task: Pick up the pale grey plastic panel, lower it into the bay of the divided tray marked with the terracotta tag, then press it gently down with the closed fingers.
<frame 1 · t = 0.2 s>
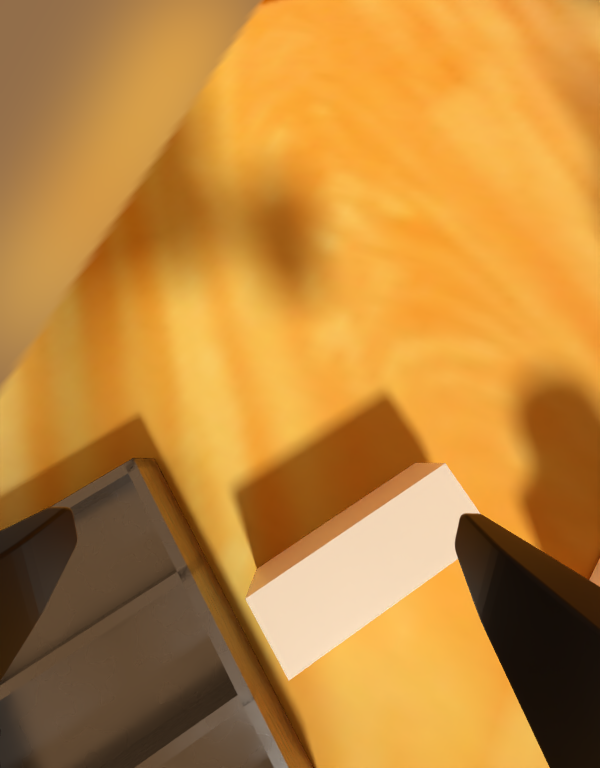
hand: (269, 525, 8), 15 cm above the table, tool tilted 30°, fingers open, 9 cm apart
blanking panel: (355, 542, 22), on the table
divided tray: (114, 683, 20), on the table
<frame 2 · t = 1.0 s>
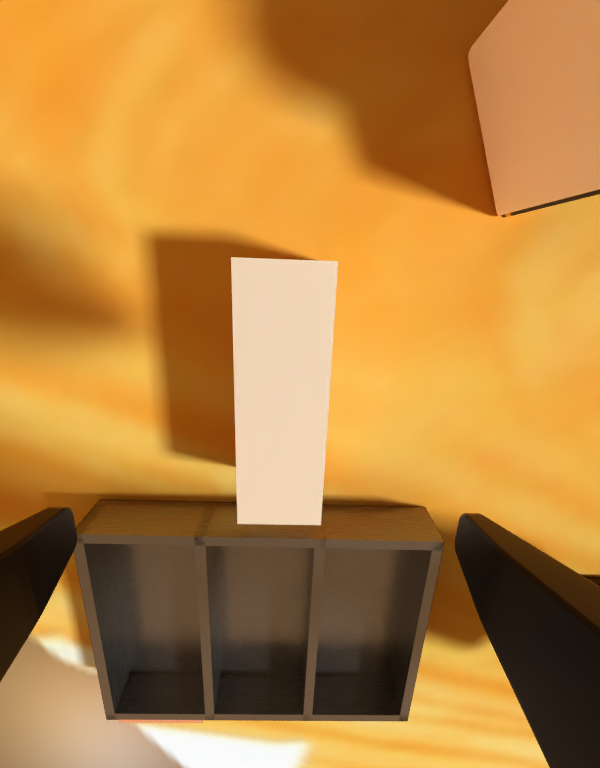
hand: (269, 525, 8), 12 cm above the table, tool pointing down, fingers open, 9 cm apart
blanking panel: (284, 374, 20), on the table
medicine bottle: (554, 111, 16), on the table
divided tray: (263, 595, 24), on the table
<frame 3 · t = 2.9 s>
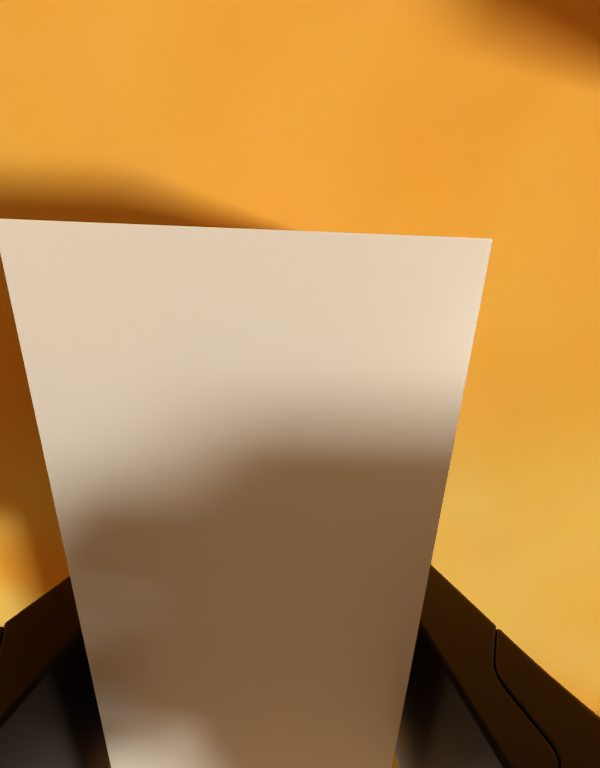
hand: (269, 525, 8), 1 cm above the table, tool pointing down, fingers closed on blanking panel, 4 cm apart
blanking panel: (272, 491, 9), on the table, touching gripper
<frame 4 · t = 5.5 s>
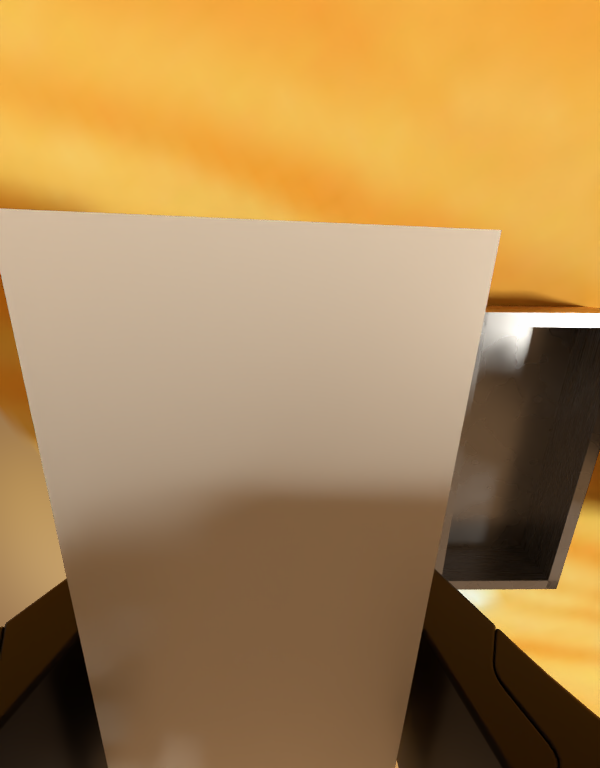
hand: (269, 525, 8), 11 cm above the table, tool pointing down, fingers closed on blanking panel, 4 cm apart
blanking panel: (272, 491, 9), point 10 cm above the table, touching gripper
divided tray: (373, 441, 20), on the table
when the fingers open (3 cm above the table, at t = 7.9 s): blanking panel drops 2 cm, resting on divided tray.
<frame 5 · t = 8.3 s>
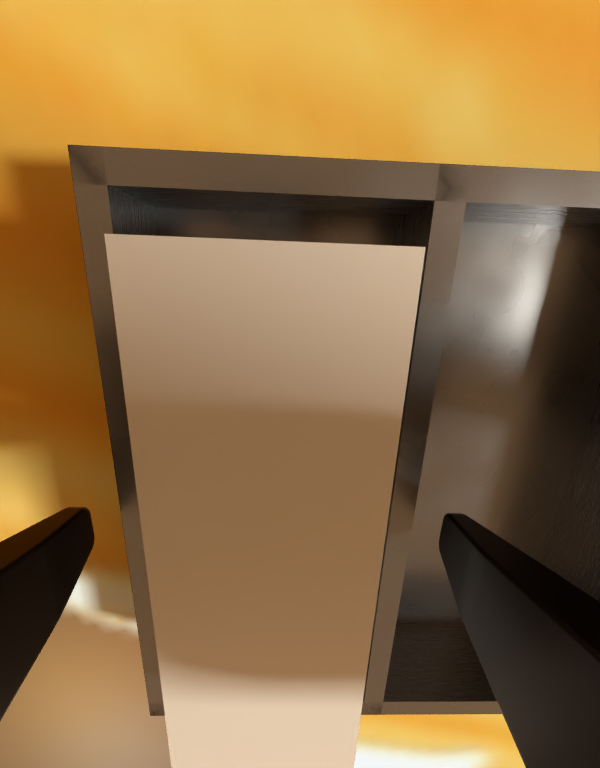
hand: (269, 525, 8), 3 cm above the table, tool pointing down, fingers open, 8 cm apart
blanking panel: (276, 458, 11), resting on divided tray
divided tray: (473, 455, 12), on the table
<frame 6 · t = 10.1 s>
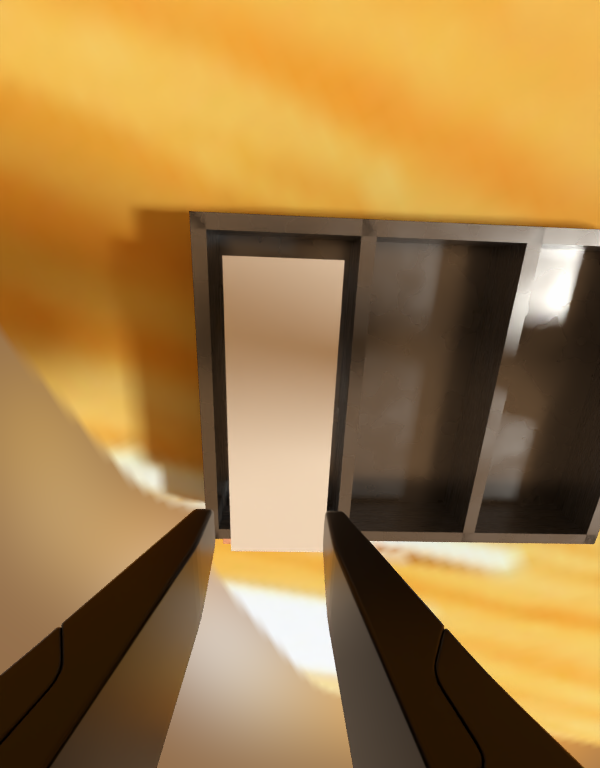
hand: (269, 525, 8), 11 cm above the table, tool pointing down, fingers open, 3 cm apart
blanking panel: (283, 384, 18), resting on divided tray
divided tray: (405, 385, 19), on the table
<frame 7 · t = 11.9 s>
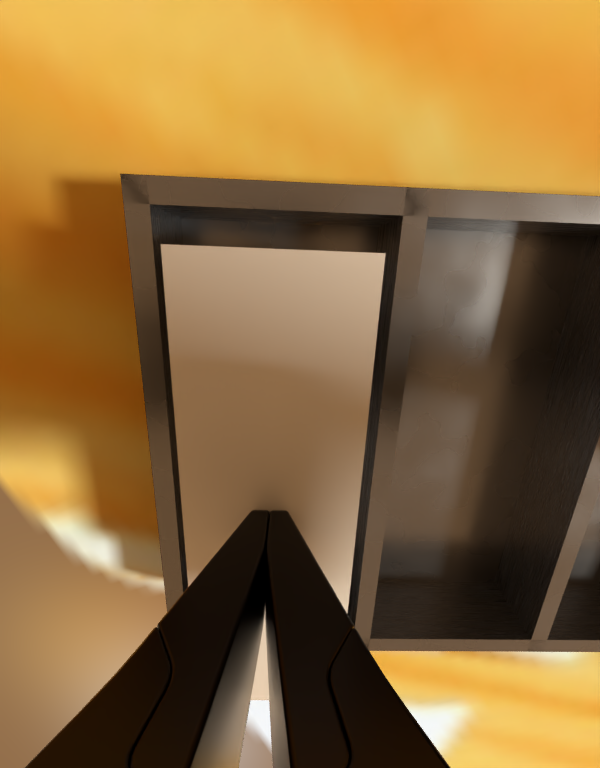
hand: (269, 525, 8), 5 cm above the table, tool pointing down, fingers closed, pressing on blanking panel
blanking panel: (278, 431, 13), resting on divided tray, touching gripper
divided tray: (448, 430, 14), on the table
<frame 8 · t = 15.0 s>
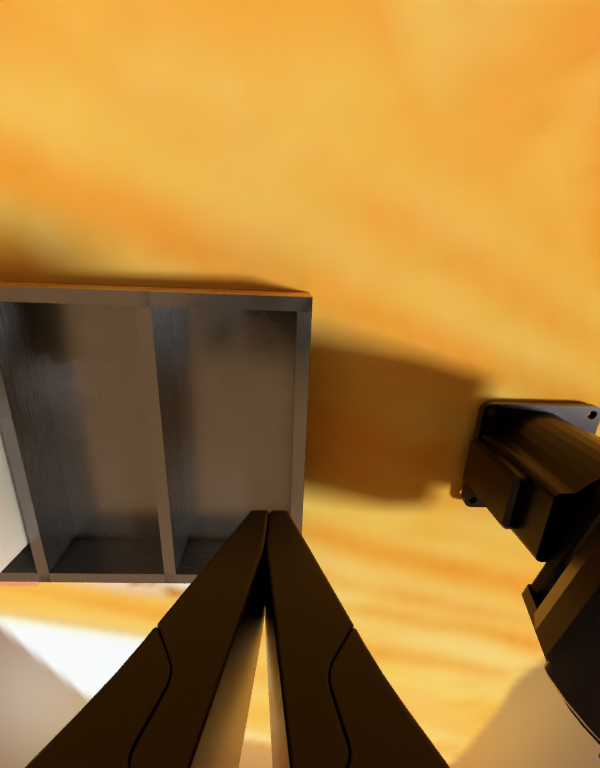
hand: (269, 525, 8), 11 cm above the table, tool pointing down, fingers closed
divided tray: (117, 428, 19), on the table
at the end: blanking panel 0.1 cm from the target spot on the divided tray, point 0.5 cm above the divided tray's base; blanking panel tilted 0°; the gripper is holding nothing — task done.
